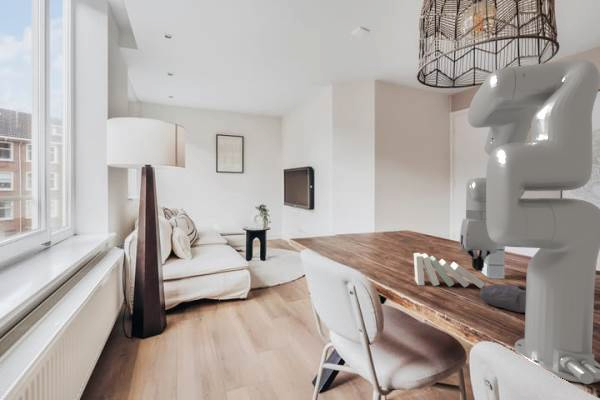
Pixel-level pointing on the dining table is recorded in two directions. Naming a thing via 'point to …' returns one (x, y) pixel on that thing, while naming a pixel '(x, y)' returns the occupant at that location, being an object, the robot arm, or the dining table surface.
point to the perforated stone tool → (505, 297)
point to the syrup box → (495, 264)
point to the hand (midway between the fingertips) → (477, 269)
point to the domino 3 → (441, 271)
